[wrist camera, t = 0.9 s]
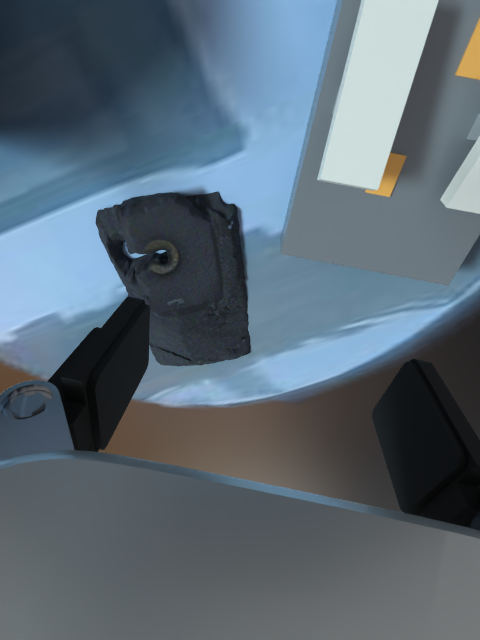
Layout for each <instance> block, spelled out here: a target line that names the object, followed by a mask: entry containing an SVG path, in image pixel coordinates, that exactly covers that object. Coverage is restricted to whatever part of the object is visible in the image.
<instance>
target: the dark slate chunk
mask: <svg viewBox="0 0 480 640" xmlns="http://www.w3.org/2000/svg"><path fill="white" fill-rule="evenodd" d="M96 225H97V227H98V230H99V236H100V238H101V241H102V243H103V245H104V246H105V248H106V251H107V253H108V255H109V257H110V260H111V262H112V263H113V265H114V267H115V269H116V271H117V273H118V275H119V277H120V279H121V280H122V282H123V284H124V285H125V287H126V290H127V292H128V297H134V298H138V299H143V300H145V303H146V304H147V305H149V306H150V330H149V345H150V348H151V351H152V353H153V355H154V356H155V359H156V361H157V362H158V363H160V364H161V365H170V366H188V365H204V364H211V363H216V362H220V361H224V360H232V359H236V358H239V357H241V356H244V355H247V354H249V352H250V346H249V344H250V335H249V331H248V324H249V323H248V314H247V295H246V287H245V283H244V279H245V276H244V266H243V261H242V252H241V246H240V236H239V221H238V217H237V208H236V206H235V205H233V204H229V205H226V204H225V203H224V202H222V200H221V197H220V194H219V192H214V193H210V194H204V195H194V196H186V197H184V196H181V195H179V194H178V193H158V194H154V195H148V196H140V197H134V198H130V199H128V200H125V201H123V203H122V204H121V205H114V206H113V208H105V209H104V210H98V212H97V217H96ZM124 241H126V243H127V245H126V246H127V249H128V252H129V253H130V254H133V253H138V254H146V255H144V256H141V257H139V258H135V259H132V260H131V259H129V258H128V257H127V256H126V255H125V254H124V253H123V251H122V245H123V242H124ZM159 250H166V252H164V253H162V254H158V253H154V252H157V251H159Z"/></svg>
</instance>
